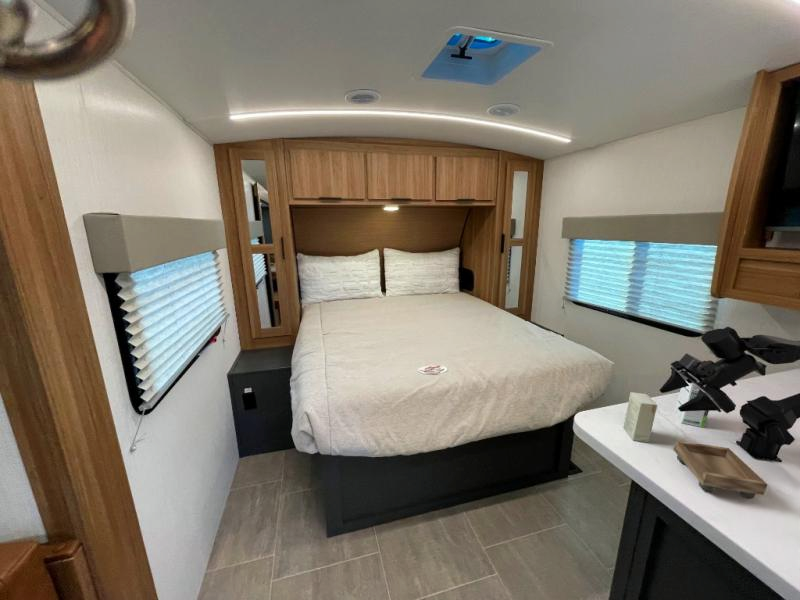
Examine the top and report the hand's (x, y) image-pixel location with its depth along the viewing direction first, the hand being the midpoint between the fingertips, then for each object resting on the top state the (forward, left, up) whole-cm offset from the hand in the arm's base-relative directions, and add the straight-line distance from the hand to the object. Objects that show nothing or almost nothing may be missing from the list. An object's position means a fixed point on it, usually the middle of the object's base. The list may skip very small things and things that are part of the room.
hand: (669, 400), depth 90 cm
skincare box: (+6, 0, -13) cm, 14 cm away
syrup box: (-14, -12, -13) cm, 22 cm away
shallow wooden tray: (-5, +14, -12) cm, 19 cm away
